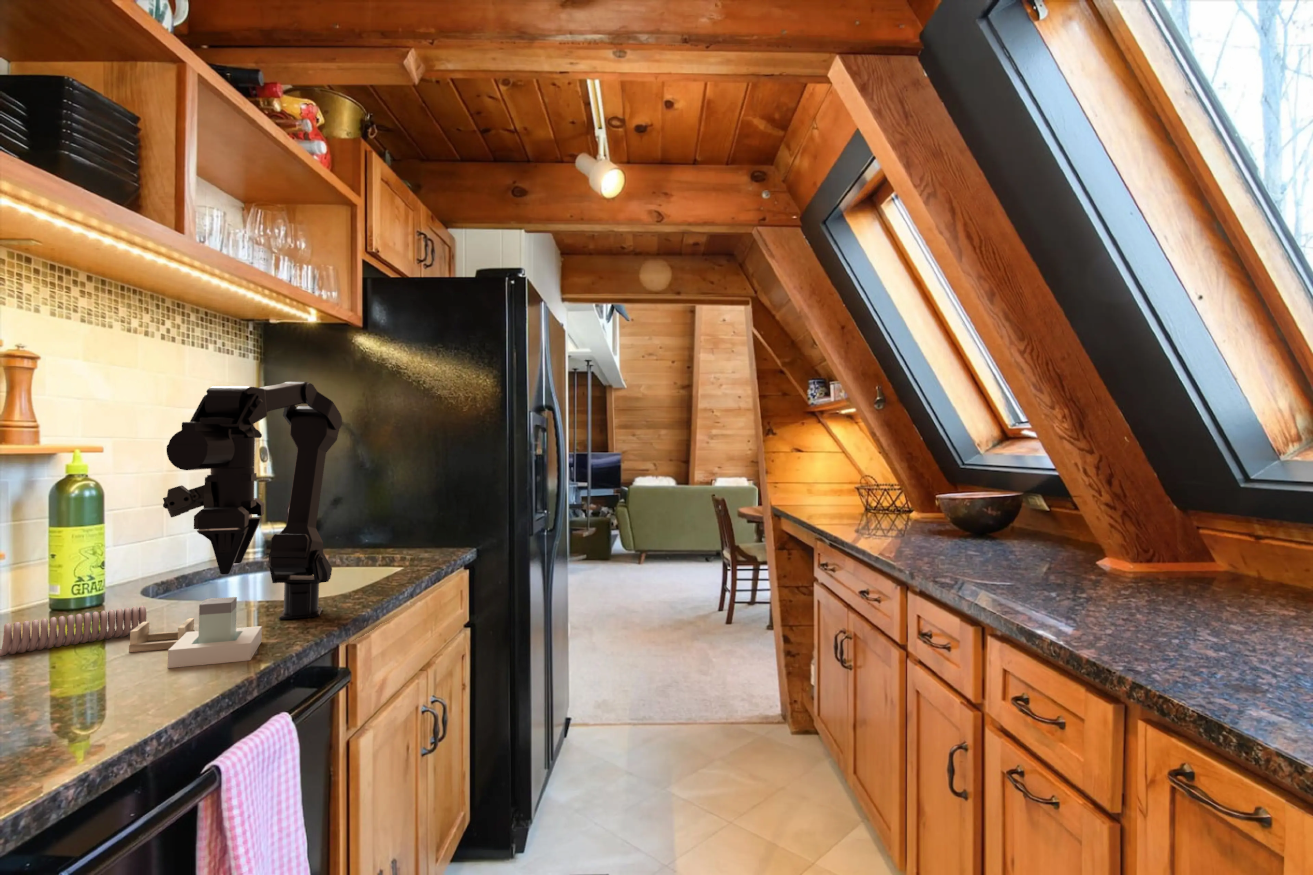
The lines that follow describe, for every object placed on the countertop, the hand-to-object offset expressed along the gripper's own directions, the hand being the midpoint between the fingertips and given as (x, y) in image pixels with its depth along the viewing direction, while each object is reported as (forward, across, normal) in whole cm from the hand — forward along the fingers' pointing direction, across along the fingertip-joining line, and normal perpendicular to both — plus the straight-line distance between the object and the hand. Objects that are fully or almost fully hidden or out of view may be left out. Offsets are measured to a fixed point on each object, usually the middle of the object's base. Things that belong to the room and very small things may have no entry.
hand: (231, 568), depth 103 cm
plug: (+12, +3, -1) cm, 13 cm away
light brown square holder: (+12, -6, -10) cm, 17 cm away
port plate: (+12, +3, -1) cm, 13 cm away
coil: (+13, -12, -23) cm, 28 cm away
